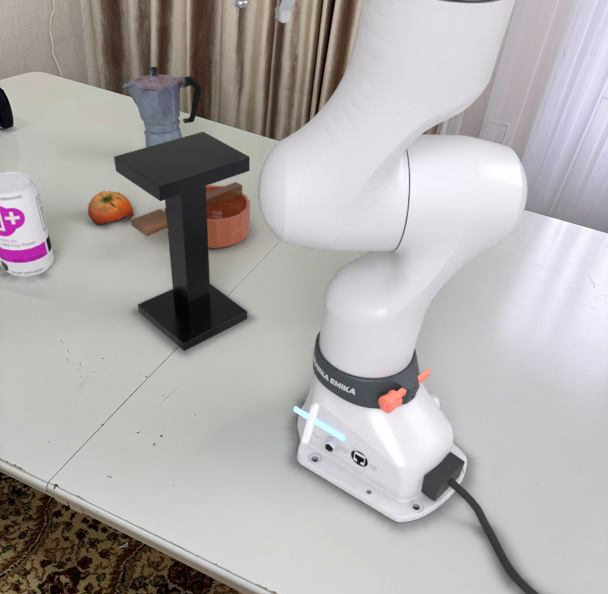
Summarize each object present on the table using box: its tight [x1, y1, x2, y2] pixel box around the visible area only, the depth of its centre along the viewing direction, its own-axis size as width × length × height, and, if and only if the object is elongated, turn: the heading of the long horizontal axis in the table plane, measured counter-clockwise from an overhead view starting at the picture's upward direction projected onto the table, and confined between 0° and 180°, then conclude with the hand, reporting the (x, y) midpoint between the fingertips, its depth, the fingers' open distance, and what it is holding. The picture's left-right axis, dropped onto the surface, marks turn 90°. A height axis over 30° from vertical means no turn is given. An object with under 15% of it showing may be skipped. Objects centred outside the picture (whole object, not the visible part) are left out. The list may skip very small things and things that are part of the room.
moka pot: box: [122, 66, 202, 148], centre depth 130 cm, size 10×15×20 cm, turn 107°
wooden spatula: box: [130, 181, 243, 237], centre depth 109 cm, size 4×22×2 cm, turn 136°
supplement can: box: [0, 171, 55, 278], centre depth 99 cm, size 8×8×15 cm
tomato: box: [87, 190, 134, 226], centre depth 117 cm, size 8×7×7 cm
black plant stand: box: [113, 131, 251, 352], centre depth 88 cm, size 12×14×26 cm
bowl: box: [206, 184, 251, 249], centre depth 114 cm, size 13×13×6 cm
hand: (260, 14), depth 93 cm, fingers open, 8 cm apart
